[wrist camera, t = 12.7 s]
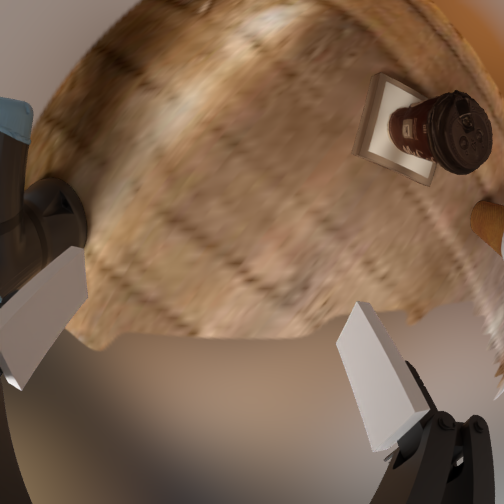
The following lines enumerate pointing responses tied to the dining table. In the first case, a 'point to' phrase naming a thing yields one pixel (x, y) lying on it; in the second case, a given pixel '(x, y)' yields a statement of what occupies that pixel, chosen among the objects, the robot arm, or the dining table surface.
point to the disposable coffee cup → (489, 224)
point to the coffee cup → (444, 132)
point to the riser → (375, 130)
